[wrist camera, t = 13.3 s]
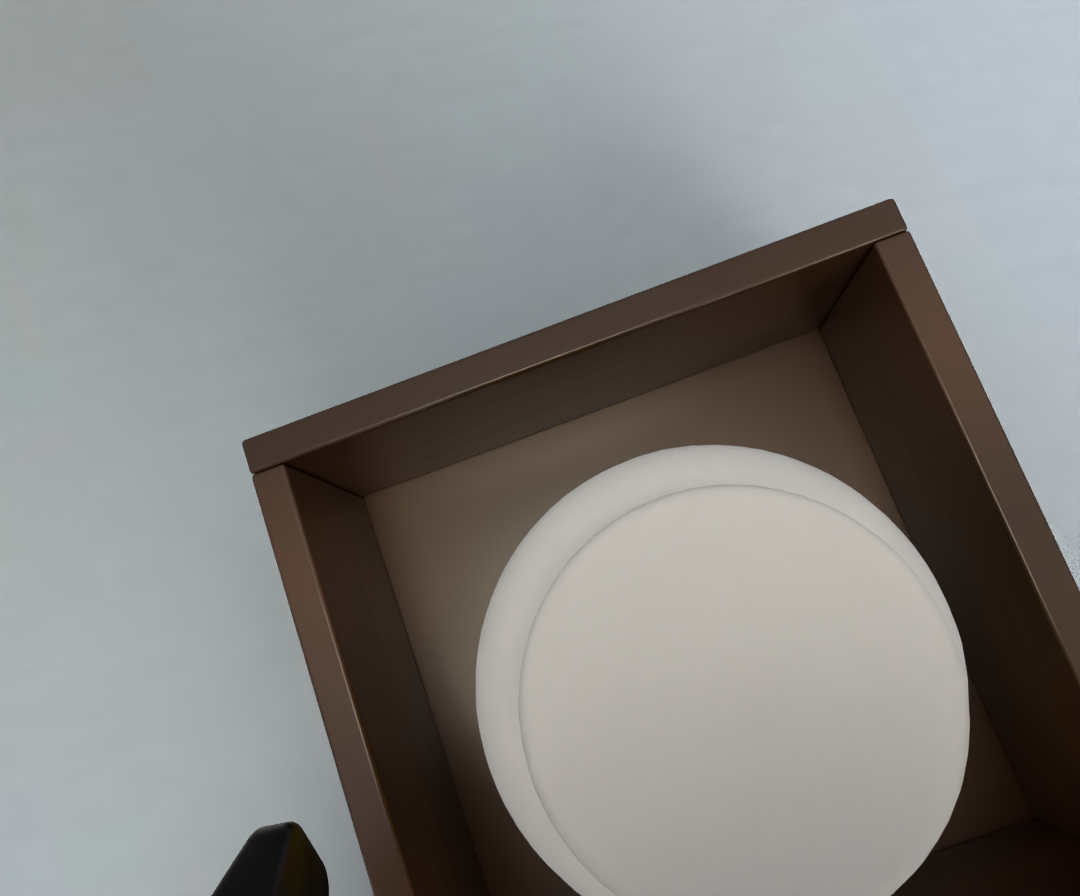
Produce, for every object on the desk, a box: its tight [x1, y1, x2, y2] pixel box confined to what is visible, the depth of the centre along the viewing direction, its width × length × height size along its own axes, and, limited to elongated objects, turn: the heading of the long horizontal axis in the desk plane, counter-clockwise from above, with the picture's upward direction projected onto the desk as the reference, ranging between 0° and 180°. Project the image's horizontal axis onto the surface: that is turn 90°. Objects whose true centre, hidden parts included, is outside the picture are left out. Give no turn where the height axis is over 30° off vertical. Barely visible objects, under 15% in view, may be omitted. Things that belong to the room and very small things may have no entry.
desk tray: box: [242, 199, 1080, 896], centre depth 16 cm, size 11×11×5 cm
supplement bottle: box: [476, 445, 970, 896], centre depth 13 cm, size 6×6×10 cm
